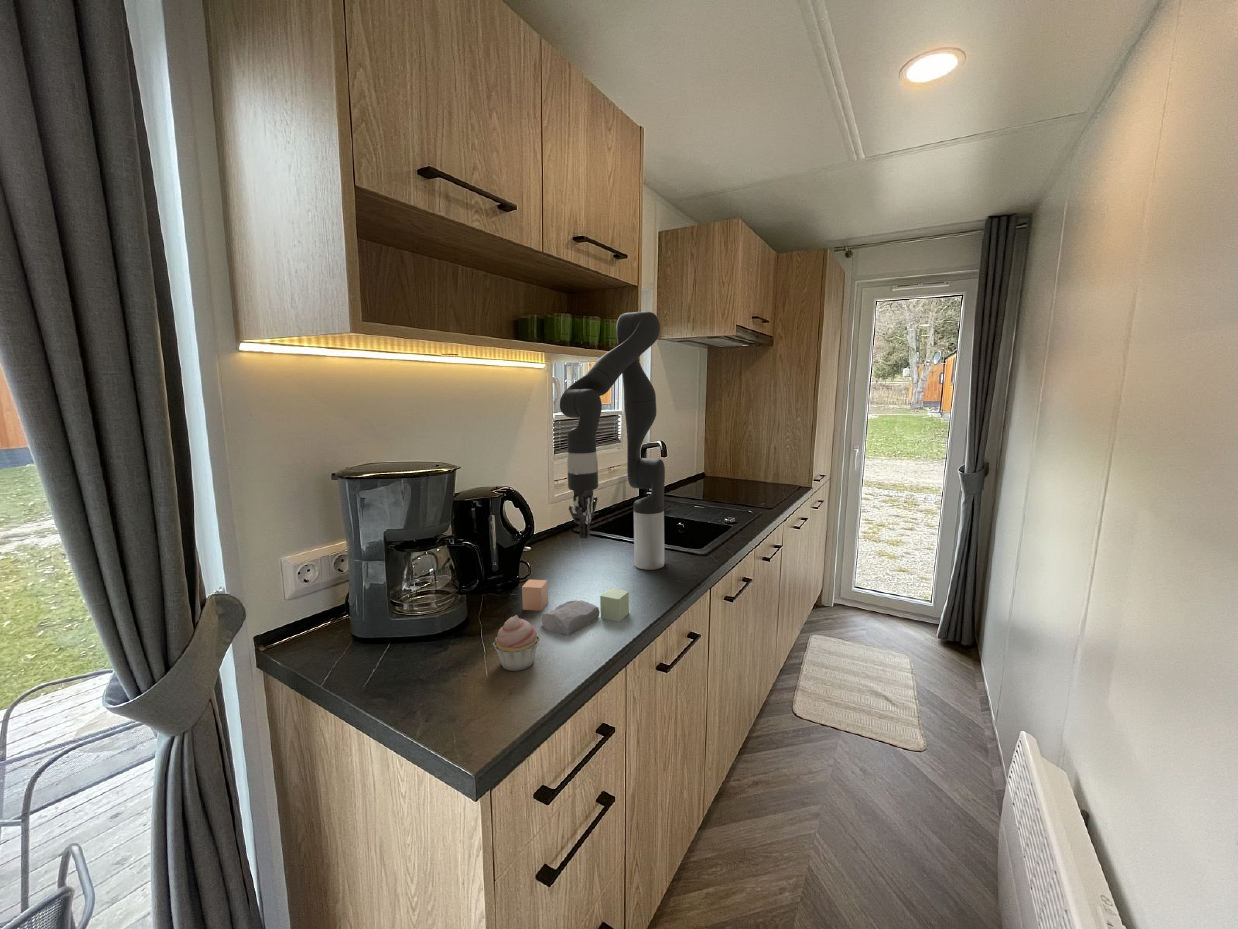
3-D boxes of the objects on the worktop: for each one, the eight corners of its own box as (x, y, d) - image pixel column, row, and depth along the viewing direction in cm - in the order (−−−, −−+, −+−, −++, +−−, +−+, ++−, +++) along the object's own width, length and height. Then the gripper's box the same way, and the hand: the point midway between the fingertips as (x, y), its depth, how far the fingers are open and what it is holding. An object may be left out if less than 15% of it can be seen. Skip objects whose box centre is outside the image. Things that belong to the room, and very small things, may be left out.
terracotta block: (530, 601, 129) (528, 579, 128) (548, 602, 128) (547, 580, 127) (523, 609, 124) (521, 586, 123) (542, 611, 123) (541, 587, 123)
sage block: (610, 609, 123) (610, 588, 123) (628, 613, 121) (628, 591, 120) (600, 617, 119) (600, 595, 118) (619, 621, 117) (618, 599, 116)
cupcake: (551, 662, 99) (548, 615, 98) (510, 682, 93) (507, 631, 92) (525, 646, 106) (522, 601, 105) (485, 663, 100) (482, 615, 98)
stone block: (538, 634, 115) (569, 638, 109) (535, 613, 115) (566, 616, 109) (573, 617, 125) (603, 619, 119) (570, 598, 125) (600, 599, 119)
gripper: (579, 465, 132) (582, 529, 134) (557, 473, 119) (559, 543, 122) (606, 466, 129) (608, 531, 132) (585, 474, 117) (588, 546, 119)
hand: (584, 537), depth 127 cm, fingers closed
